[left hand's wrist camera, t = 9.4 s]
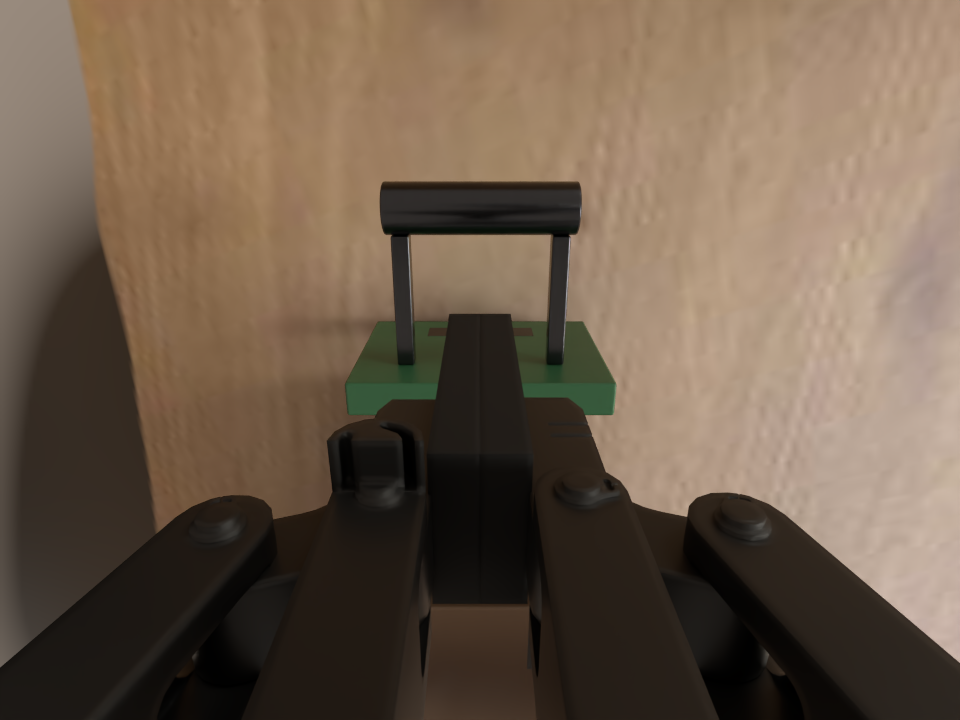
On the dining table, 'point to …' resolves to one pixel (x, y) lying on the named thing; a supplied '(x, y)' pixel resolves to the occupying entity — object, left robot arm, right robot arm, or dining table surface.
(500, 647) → the cabinet
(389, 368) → the drawer
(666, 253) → the dining table surface
